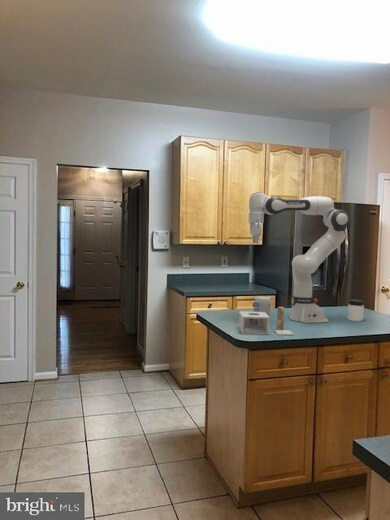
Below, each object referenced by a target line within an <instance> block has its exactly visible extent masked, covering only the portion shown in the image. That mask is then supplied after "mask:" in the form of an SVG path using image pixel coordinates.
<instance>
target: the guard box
mask: <svg viewBox="0 0 390 520" xmlns="http://www.w3.org/2000/svg"><path fill="white" fill-rule="evenodd" d="M250 318H258V320H257V325H251V324H250ZM269 320H270V321H271V316H270V317H269V316H268V315H267V314H266V313H265V312H254V311H249V310H246V311H243V310H241V311H239V312H238V328H239V331H240V332H241V334H248V335H249V334H250V335H251V334H252V335H253V334H254V335H269V334H270V323H269Z"/></svg>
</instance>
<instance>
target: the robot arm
mask: <svg viewBox="0 0 390 520" xmlns="http://www.w3.org/2000/svg"><path fill="white" fill-rule="evenodd" d="M248 209H249V212H248V223H249V231H250V232H249V233H250V236H252V237H251V239H252V244H256V245H258V244H259V243H260V242H259V240H260V236H262V231H263V230H262V224H264V222H265V221H264V220H265V214H267V215H273V216H274V215H278V214H281V213H283V212H290V211H291V212H292V211H294V212H296V211H297V212H301V213H302V214H303V215H306V216H308V215H309V216H320V217H321V223H322V224H323V225H324V227H326V228H327V229H328V230H327V231H326V232H325V233H324V234H323V235H322V236H321V237H319V238H318V239H317V240H316V241H315V242H314V243H312V245H310V248H309V249H308V250H307V251H306V253H303V254H298V255H296V256H295V257H293V259H292V261H291V266H292V279H293V290H292V291H293V292H292V297H291V305H292V307H291V312H290V316H289V320H292V321H295V322H301V323H304V324H305V323H307V324H308V323H310V324H311V323H315V324H316V323H328V322H329V319H328V318H327V317H326V316H325V312H324V310H323V308H321V307H320V306H319V305H317V303H316V302H318V298H315V297H313V285H314V284H313V282H312V274H313V273H315V272H316V271H317V269H318V268H319V266H320V265H321V264H322V263H323V261H324V260H325V259H326V258H328V256H330V255H331V254H332V253H333V252H334V251H335V250H336V249H338V247H340V246H341V244H342V243H343V242H344V241H345V239H346V233H345V232H344V231H345V230H346V229H347V226H348V224H349V223H350V215H349V213H348V212H347V211H346V210H344V209H336V208H335V203H334V200H333V199H332V198H331V197H327V196H319V195H318V196H317V195H314V196H305V197H302V198H299V199H284V198H282V197H279V196H276V195H275V196H271V197H270V196H268V195H266V194H265V193H264V192H261V191H258V192H253V193H252V194H250V197H249V200H248Z"/></svg>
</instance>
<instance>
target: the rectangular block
mask: <svg viewBox="0 0 390 520" xmlns="http://www.w3.org/2000/svg"><path fill="white" fill-rule="evenodd" d="M284 320H285V307H284V306H277V311H276V330H284V322H285V321H284Z"/></svg>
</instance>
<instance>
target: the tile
mask: <svg viewBox="0 0 390 520" xmlns="http://www.w3.org/2000/svg"><path fill="white" fill-rule="evenodd" d="M274 333H275V334H276V336H290V337H291V336H293V337H294V333H293V332H292V331H291V330H290V329H289V330H288V329H287V330H286V329H283V330H277V329H274Z"/></svg>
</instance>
